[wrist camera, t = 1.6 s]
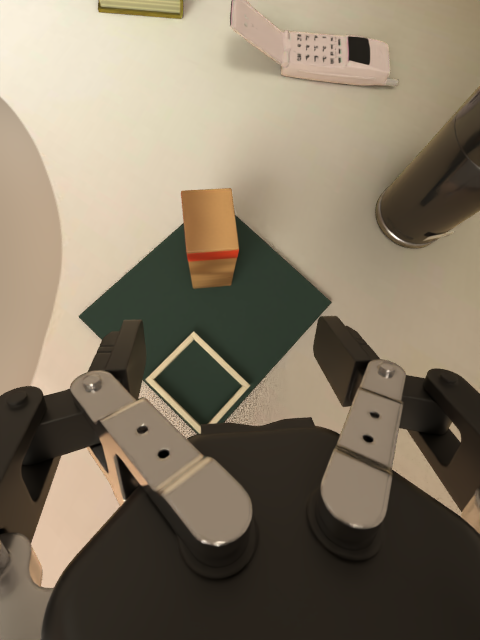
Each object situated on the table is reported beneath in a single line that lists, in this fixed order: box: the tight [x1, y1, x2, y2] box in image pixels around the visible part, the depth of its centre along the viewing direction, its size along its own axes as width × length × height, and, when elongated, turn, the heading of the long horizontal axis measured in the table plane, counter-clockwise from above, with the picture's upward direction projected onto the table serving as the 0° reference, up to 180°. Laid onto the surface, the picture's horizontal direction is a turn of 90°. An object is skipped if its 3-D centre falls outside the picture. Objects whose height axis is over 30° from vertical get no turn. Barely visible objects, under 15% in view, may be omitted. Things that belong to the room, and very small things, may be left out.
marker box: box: [181, 188, 239, 289], centre depth 34 cm, size 5×6×10 cm
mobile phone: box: [230, 0, 399, 86], centre depth 44 cm, size 6×6×25 cm
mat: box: [79, 215, 331, 434], centre depth 37 cm, size 22×20×1 cm
